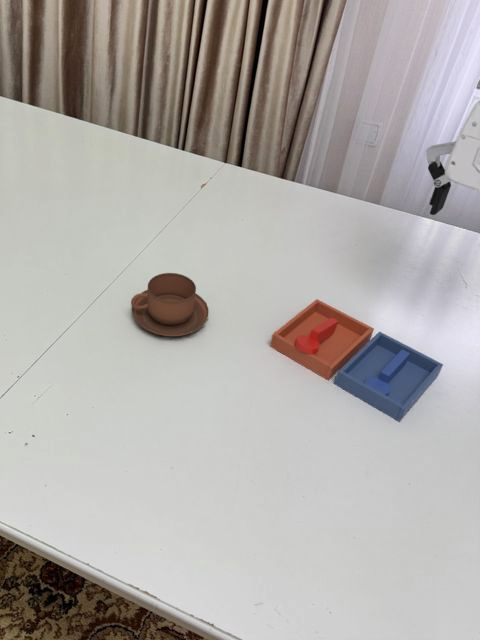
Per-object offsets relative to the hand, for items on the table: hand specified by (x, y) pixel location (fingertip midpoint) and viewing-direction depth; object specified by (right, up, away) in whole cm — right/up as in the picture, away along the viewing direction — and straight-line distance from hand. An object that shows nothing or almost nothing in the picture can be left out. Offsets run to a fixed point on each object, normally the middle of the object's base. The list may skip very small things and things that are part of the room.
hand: (469, 223), depth 86 cm
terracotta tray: (-18, -16, +10) cm, 27 cm away
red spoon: (-19, -16, +8) cm, 26 cm away
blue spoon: (-10, -22, +4) cm, 24 cm away
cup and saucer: (-42, -13, +12) cm, 45 cm away
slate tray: (-10, -22, +5) cm, 25 cm away
